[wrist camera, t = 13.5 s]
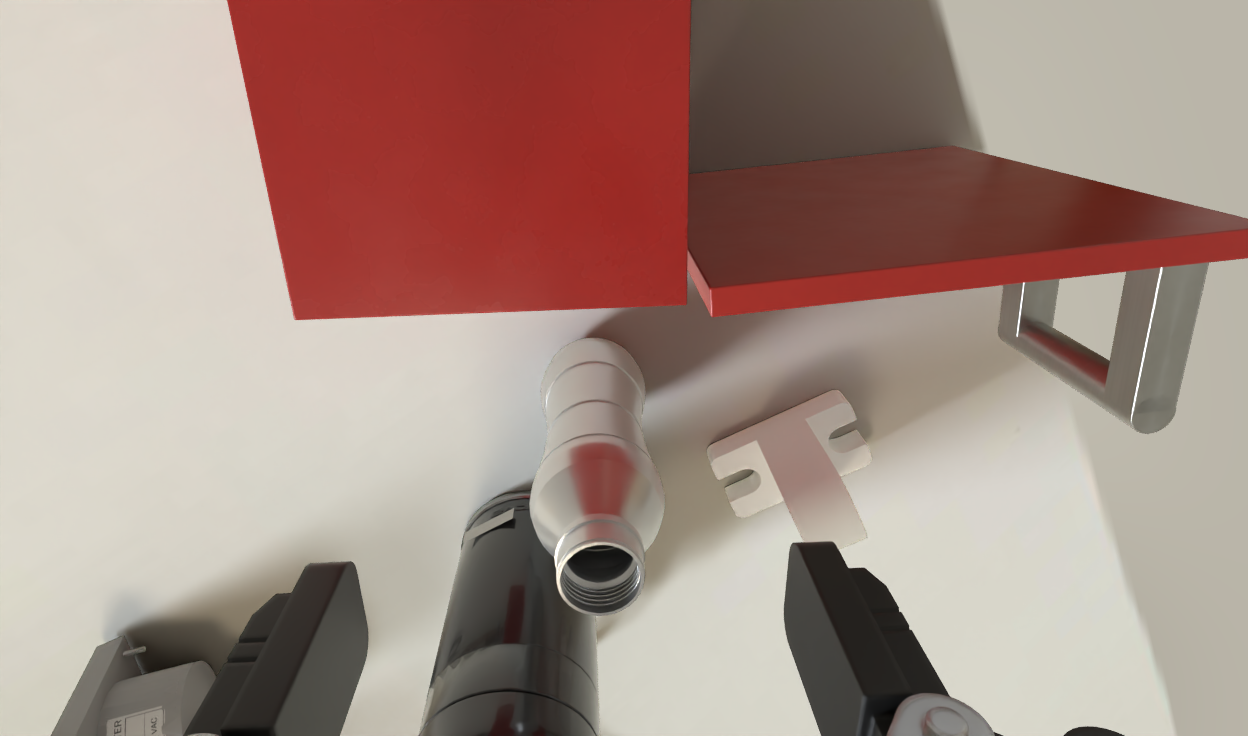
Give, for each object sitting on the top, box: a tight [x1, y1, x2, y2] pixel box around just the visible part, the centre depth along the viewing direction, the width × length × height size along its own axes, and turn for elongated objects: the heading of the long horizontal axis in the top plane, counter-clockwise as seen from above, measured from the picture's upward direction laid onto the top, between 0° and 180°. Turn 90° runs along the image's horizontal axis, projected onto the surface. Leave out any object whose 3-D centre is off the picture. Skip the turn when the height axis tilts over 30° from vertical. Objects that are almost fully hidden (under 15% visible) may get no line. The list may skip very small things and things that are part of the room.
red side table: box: [687, 146, 1248, 434], centre depth 34 cm, size 7×18×22 cm, turn 95°
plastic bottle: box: [529, 338, 665, 616], centre depth 38 cm, size 6×7×20 cm
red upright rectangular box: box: [227, 0, 691, 320], centre depth 29 cm, size 12×18×22 cm, turn 1°
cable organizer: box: [707, 390, 872, 550], centre depth 46 cm, size 5×10×10 cm, turn 116°
